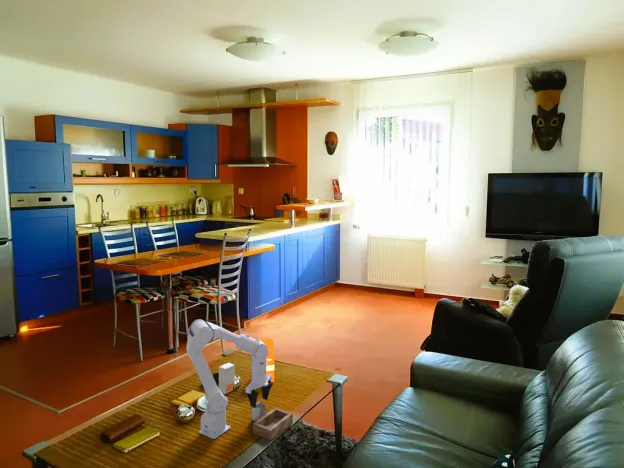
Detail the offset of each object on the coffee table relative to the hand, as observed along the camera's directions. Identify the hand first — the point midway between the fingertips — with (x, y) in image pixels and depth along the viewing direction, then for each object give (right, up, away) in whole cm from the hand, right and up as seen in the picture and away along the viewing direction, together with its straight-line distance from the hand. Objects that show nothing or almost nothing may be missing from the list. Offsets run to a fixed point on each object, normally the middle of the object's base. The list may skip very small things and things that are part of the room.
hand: (259, 403), depth 188 cm
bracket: (0, -7, +1) cm, 7 cm away
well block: (+6, -8, -5) cm, 11 cm away
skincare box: (-17, -3, +24) cm, 30 cm away
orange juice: (-2, -2, +36) cm, 36 cm away
